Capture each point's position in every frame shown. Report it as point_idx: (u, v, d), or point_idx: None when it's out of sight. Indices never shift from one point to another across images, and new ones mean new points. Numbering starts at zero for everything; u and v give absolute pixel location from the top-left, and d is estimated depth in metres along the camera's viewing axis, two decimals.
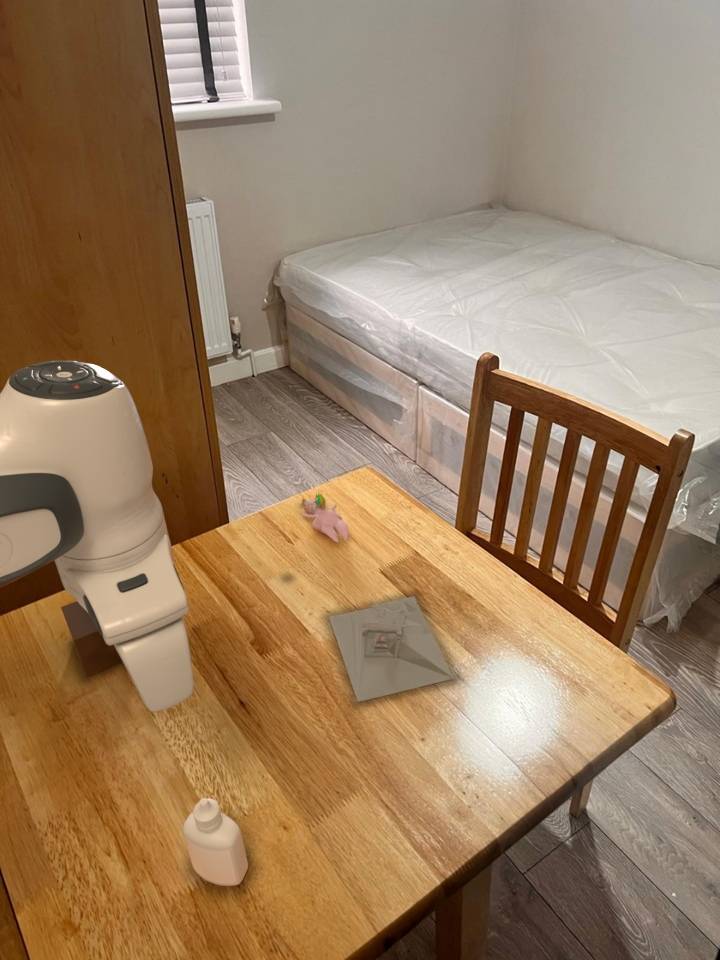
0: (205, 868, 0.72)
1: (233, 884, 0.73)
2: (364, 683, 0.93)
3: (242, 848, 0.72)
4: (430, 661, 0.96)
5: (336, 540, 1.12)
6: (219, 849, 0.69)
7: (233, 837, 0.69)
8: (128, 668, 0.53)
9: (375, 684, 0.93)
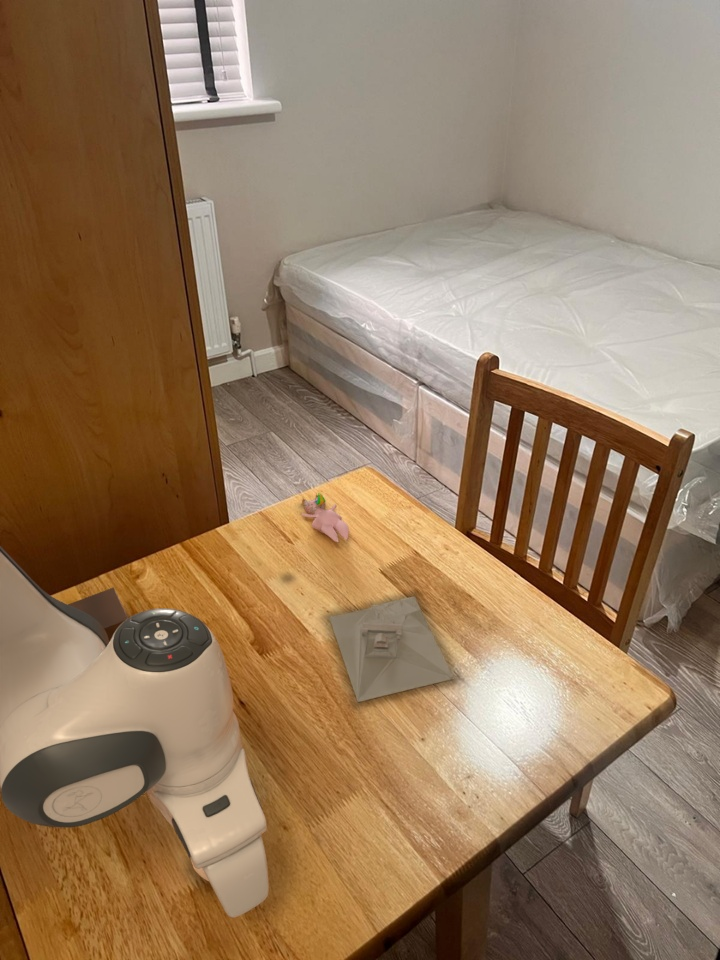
0: None
1: None
2: (364, 683, 0.93)
3: None
4: (430, 661, 0.96)
5: (336, 540, 1.12)
6: None
7: None
8: (213, 886, 0.59)
9: (375, 684, 0.93)
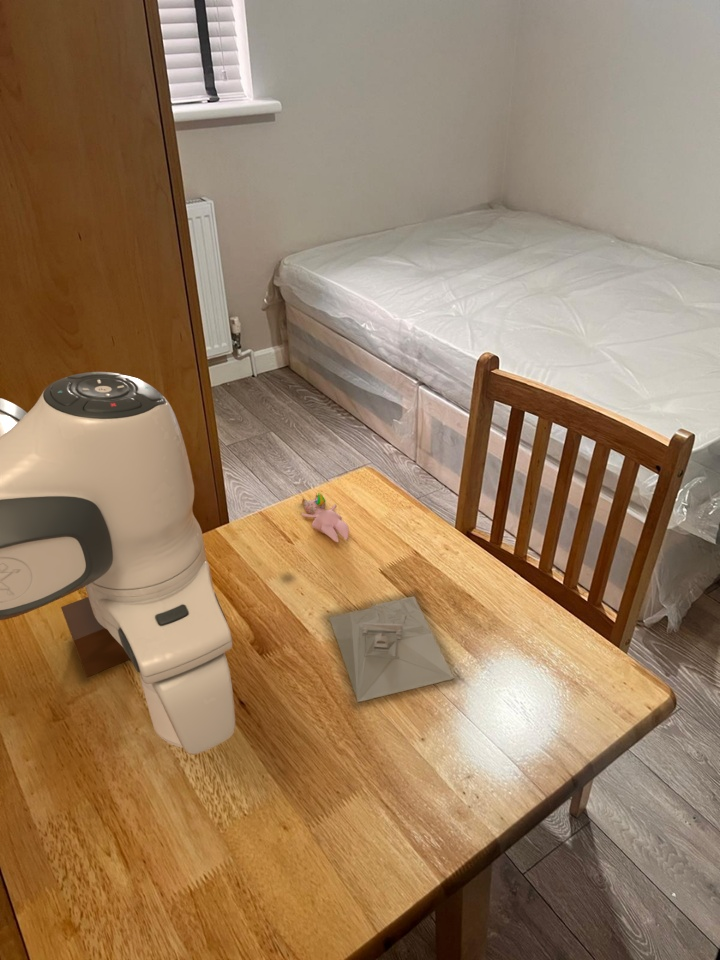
0: (167, 725, 0.62)
1: None
2: (364, 683, 0.93)
3: None
4: (430, 661, 0.96)
5: (336, 540, 1.12)
6: None
7: None
8: (167, 708, 0.49)
9: (375, 684, 0.93)
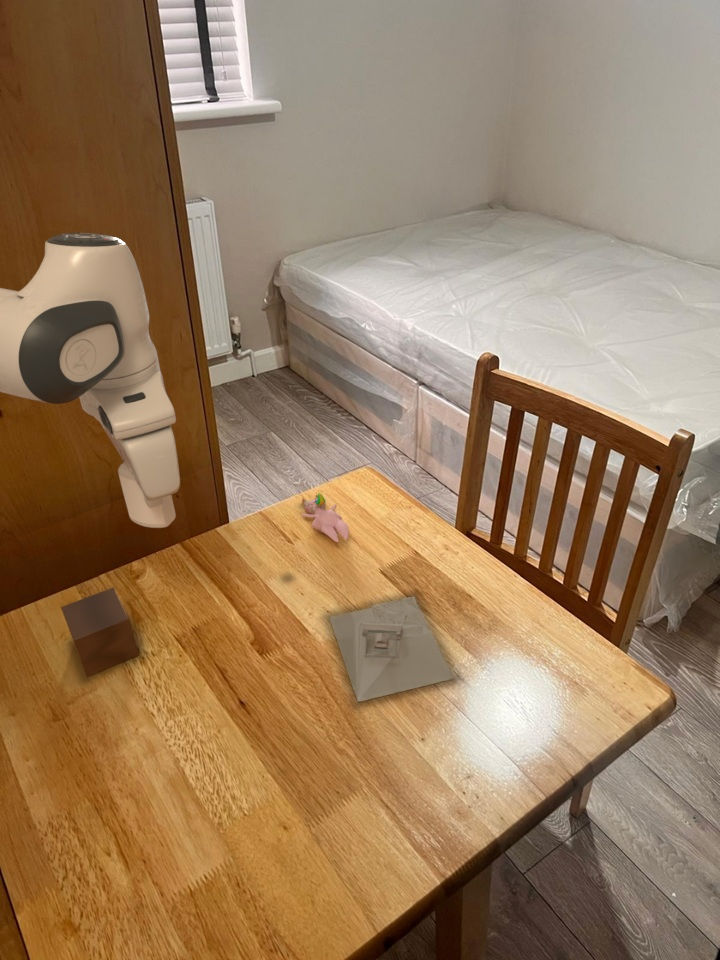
0: (137, 507, 0.86)
1: (162, 525, 0.87)
2: (364, 683, 0.93)
3: None
4: (430, 661, 0.96)
5: (336, 540, 1.12)
6: None
7: None
8: (131, 458, 0.73)
9: (375, 684, 0.93)
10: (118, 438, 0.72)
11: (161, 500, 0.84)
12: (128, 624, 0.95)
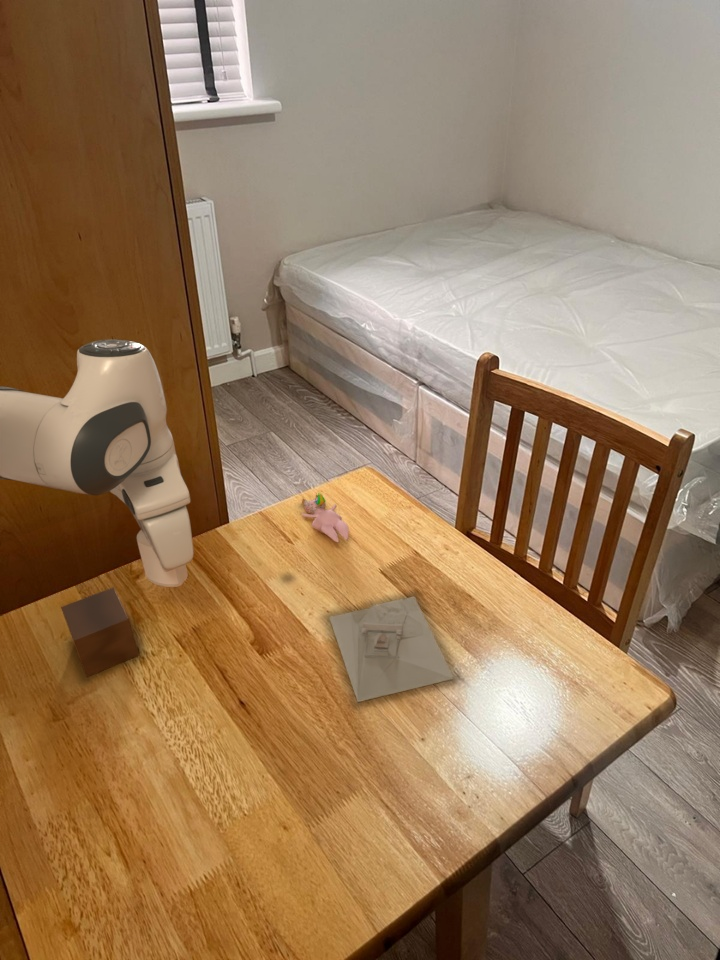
0: (154, 570, 0.96)
1: (175, 585, 0.97)
2: (364, 683, 0.93)
3: None
4: (430, 661, 0.96)
5: (336, 540, 1.12)
6: None
7: None
8: (151, 535, 0.83)
9: (375, 684, 0.93)
10: (140, 519, 0.82)
11: None
12: (128, 624, 0.95)
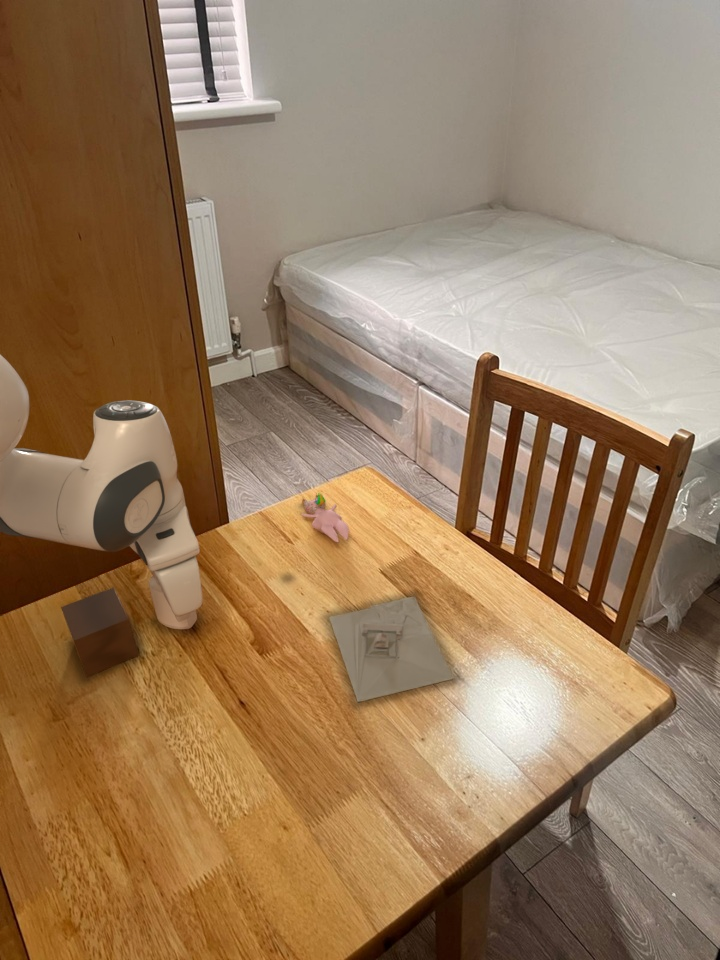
0: (165, 613, 1.01)
1: (185, 627, 1.01)
2: (364, 683, 0.93)
3: None
4: (430, 661, 0.96)
5: (336, 540, 1.12)
6: None
7: None
8: (162, 585, 0.87)
9: (375, 684, 0.93)
10: (152, 570, 0.86)
11: (189, 614, 0.97)
12: (128, 624, 0.95)
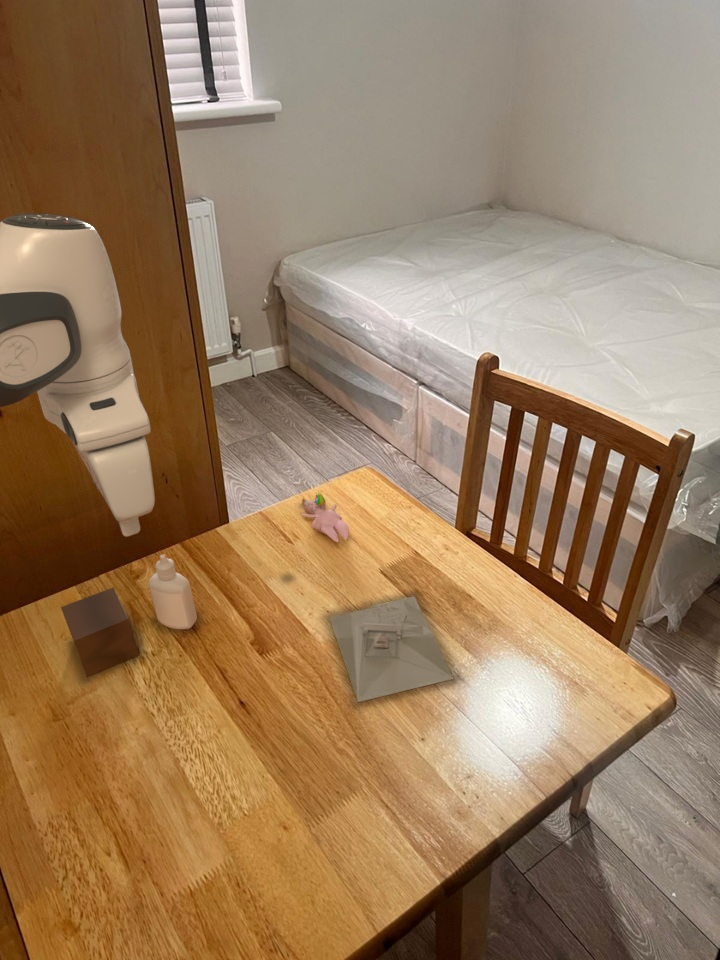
0: (165, 613, 1.01)
1: (185, 627, 1.01)
2: (364, 683, 0.93)
3: (191, 599, 1.00)
4: (430, 661, 0.96)
5: (336, 540, 1.12)
6: (173, 593, 0.98)
7: (183, 585, 0.98)
8: (98, 473, 0.64)
9: (375, 684, 0.93)
10: (83, 450, 0.63)
11: (139, 528, 0.73)
12: (128, 624, 0.95)
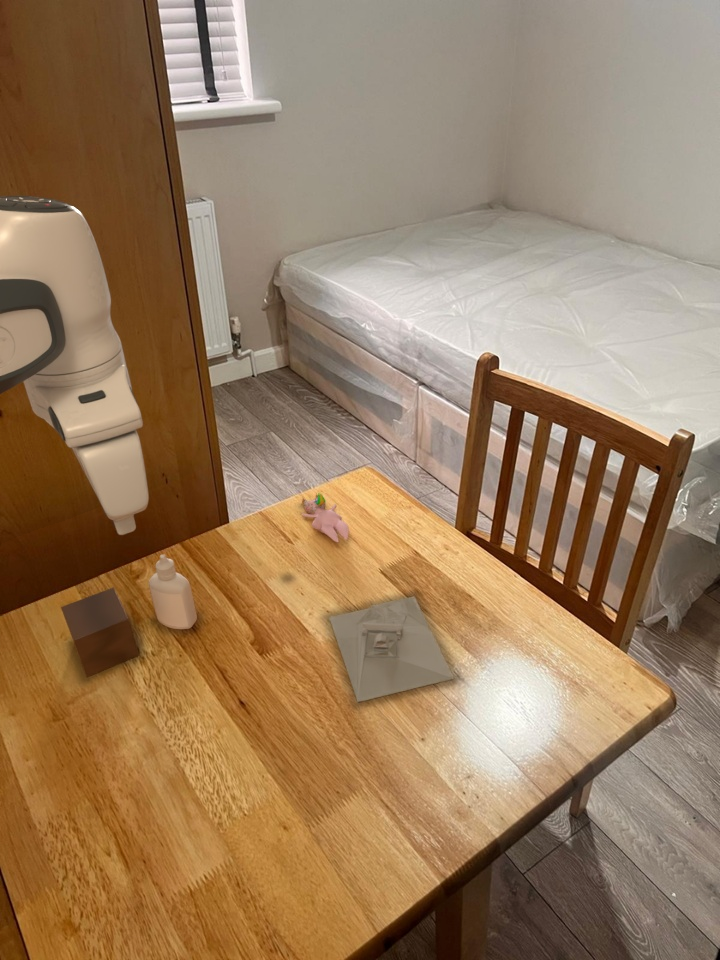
0: (165, 613, 1.01)
1: (185, 627, 1.01)
2: (364, 683, 0.93)
3: (191, 599, 1.00)
4: (430, 661, 0.96)
5: (336, 540, 1.12)
6: (173, 593, 0.98)
7: (183, 585, 0.98)
8: (88, 470, 0.60)
9: (375, 684, 0.93)
10: (71, 446, 0.60)
11: (134, 526, 0.70)
12: (128, 624, 0.95)
